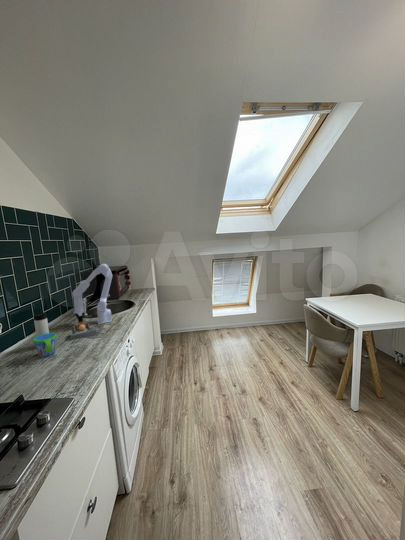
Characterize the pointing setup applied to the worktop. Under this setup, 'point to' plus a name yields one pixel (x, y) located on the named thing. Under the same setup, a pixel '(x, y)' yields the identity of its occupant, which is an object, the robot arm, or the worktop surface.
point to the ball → (82, 327)
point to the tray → (83, 334)
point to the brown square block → (81, 324)
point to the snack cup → (45, 344)
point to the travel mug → (41, 324)
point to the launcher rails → (75, 329)
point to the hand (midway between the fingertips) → (80, 322)
